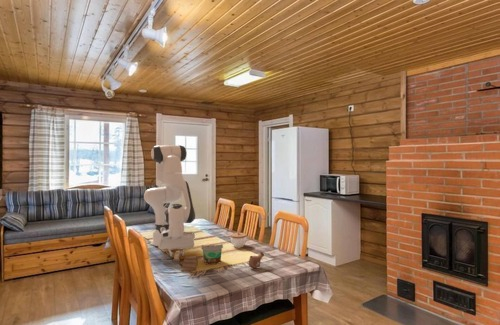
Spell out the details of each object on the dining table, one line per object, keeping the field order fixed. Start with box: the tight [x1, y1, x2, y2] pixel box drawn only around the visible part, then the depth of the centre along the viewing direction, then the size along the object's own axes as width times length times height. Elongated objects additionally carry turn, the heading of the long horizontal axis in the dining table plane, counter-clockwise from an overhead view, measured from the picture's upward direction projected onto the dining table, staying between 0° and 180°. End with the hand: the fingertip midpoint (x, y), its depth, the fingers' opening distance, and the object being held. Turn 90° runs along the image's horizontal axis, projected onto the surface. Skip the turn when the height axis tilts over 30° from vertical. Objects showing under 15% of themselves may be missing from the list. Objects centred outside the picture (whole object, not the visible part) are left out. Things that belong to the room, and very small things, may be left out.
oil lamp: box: [248, 251, 265, 269], centre depth 165 cm, size 9×4×8 cm, turn 112°
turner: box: [170, 250, 181, 266], centre depth 179 cm, size 16×4×3 cm, turn 7°
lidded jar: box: [230, 231, 248, 249], centre depth 205 cm, size 11×11×9 cm
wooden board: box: [180, 256, 198, 272], centre depth 171 cm, size 20×7×1 cm, turn 7°
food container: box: [200, 243, 224, 265], centre depth 173 cm, size 12×6×10 cm, turn 105°
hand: (177, 255), depth 181 cm, fingers open, 5 cm apart
